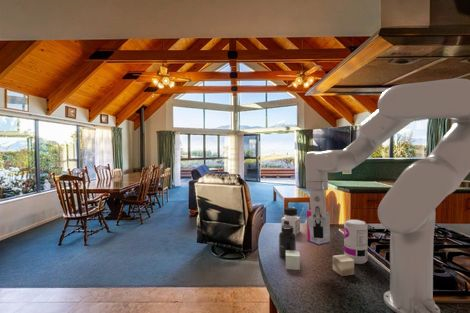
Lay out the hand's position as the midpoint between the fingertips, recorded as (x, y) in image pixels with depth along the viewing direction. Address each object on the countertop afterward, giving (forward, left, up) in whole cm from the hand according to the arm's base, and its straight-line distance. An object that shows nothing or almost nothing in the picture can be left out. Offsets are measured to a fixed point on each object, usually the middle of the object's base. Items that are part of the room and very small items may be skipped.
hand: (318, 233), depth 90 cm
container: (+41, +2, -13) cm, 43 cm away
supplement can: (+8, -17, -13) cm, 22 cm away
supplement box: (0, 0, -3) cm, 3 cm away
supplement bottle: (+12, +9, -13) cm, 20 cm away
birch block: (-2, -8, -13) cm, 15 cm away
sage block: (+2, +9, -13) cm, 16 cm away
